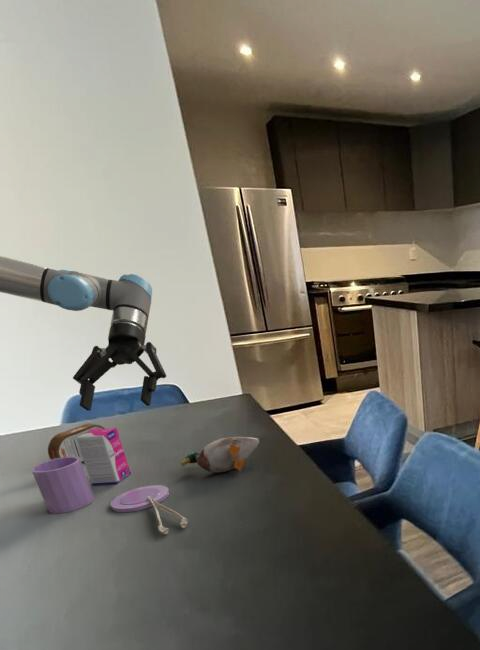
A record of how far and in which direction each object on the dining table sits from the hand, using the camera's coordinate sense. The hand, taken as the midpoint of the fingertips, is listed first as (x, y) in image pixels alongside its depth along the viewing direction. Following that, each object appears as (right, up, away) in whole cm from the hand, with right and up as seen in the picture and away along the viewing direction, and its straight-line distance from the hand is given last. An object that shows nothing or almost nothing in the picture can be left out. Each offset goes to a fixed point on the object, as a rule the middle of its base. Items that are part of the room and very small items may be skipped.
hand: (115, 405), depth 115 cm
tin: (-14, -13, +10) cm, 21 cm away
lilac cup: (+1, -22, -14) cm, 26 cm away
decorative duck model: (+26, -14, 0) cm, 30 cm away
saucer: (+15, -21, -14) cm, 29 cm away
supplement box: (+2, -17, -3) cm, 18 cm away
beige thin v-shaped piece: (+23, -23, -21) cm, 39 cm away
